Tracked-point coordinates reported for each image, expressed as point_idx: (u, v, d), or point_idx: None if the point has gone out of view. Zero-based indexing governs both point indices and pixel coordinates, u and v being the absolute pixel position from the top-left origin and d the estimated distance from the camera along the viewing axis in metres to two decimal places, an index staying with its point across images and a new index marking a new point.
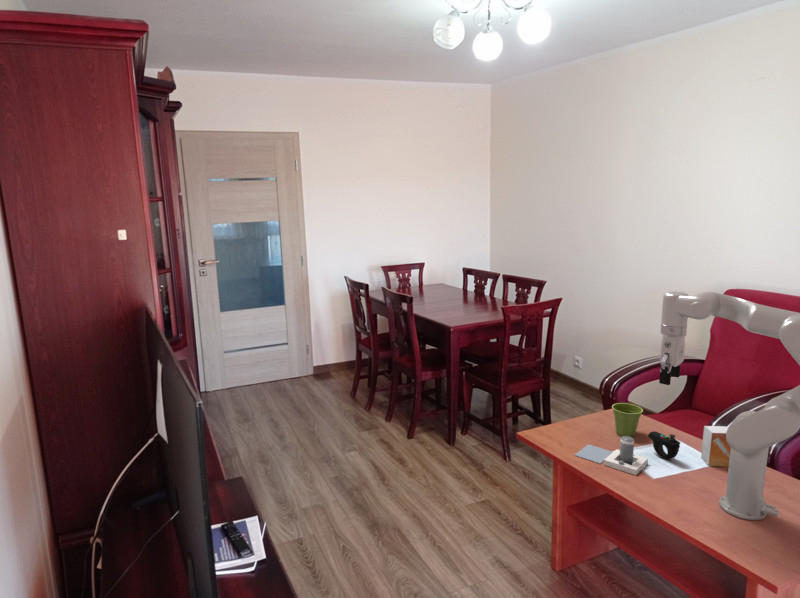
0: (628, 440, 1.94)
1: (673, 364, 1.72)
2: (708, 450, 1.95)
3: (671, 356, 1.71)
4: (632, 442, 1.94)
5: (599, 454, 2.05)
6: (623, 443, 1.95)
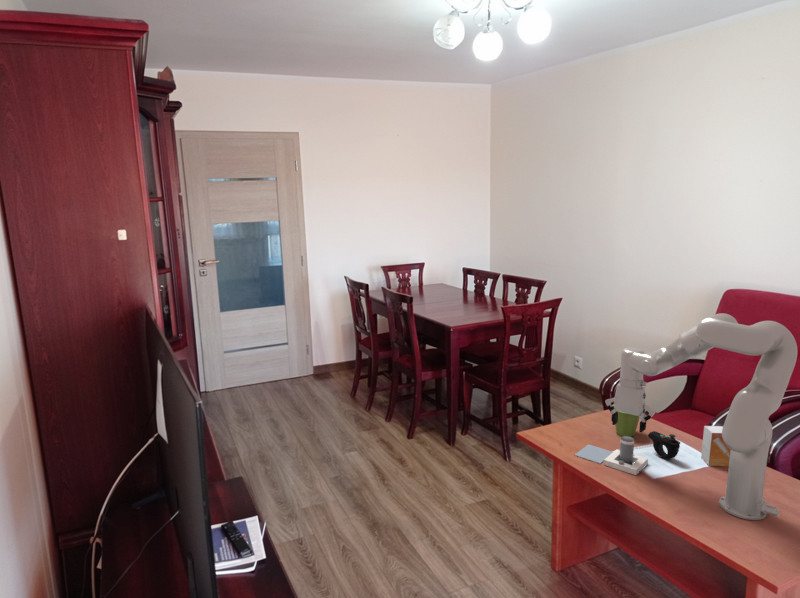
0: (628, 440, 1.94)
1: (645, 410, 1.92)
2: (708, 450, 1.95)
3: (645, 404, 1.91)
4: (632, 442, 1.94)
5: (599, 454, 2.05)
6: (623, 443, 1.95)
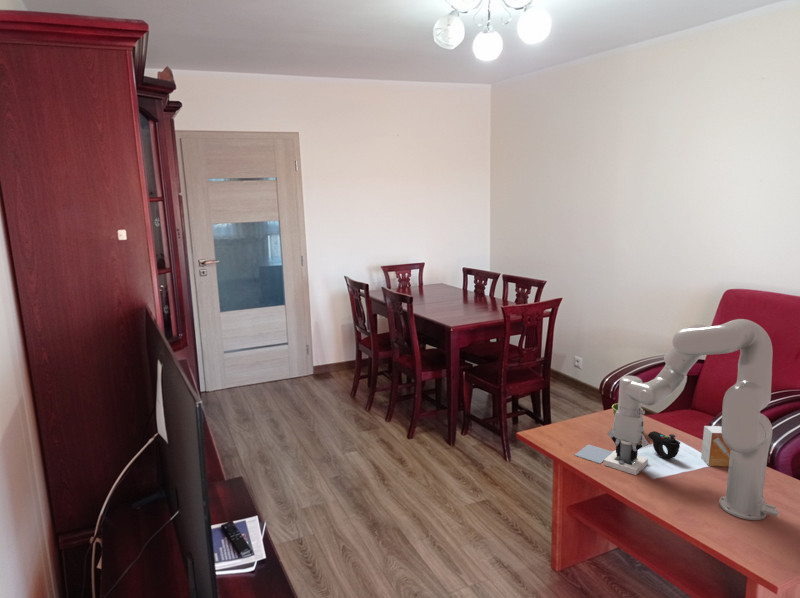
0: None
1: None
2: (708, 450, 1.95)
3: (643, 432, 1.93)
4: None
5: (599, 454, 2.05)
6: (623, 443, 1.95)
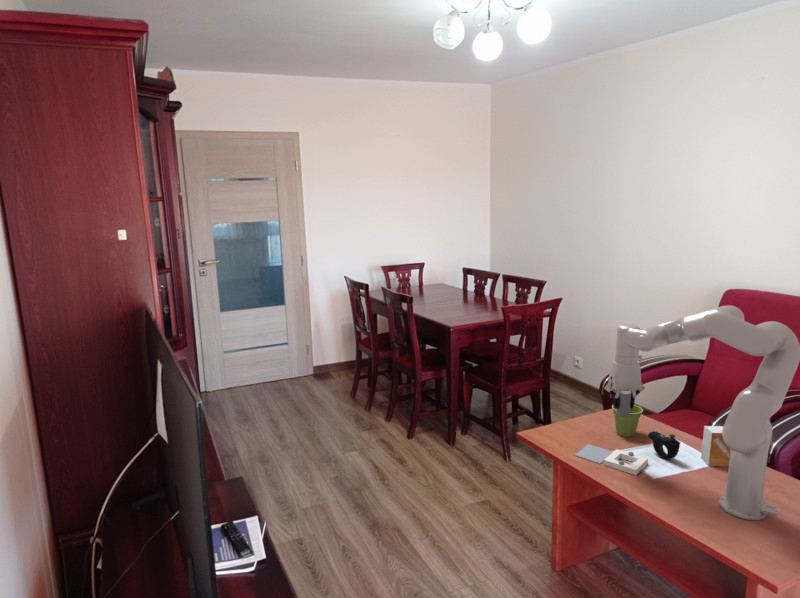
0: None
1: None
2: (708, 450, 1.95)
3: None
4: (631, 390, 1.93)
5: (599, 454, 2.05)
6: (625, 393, 1.92)
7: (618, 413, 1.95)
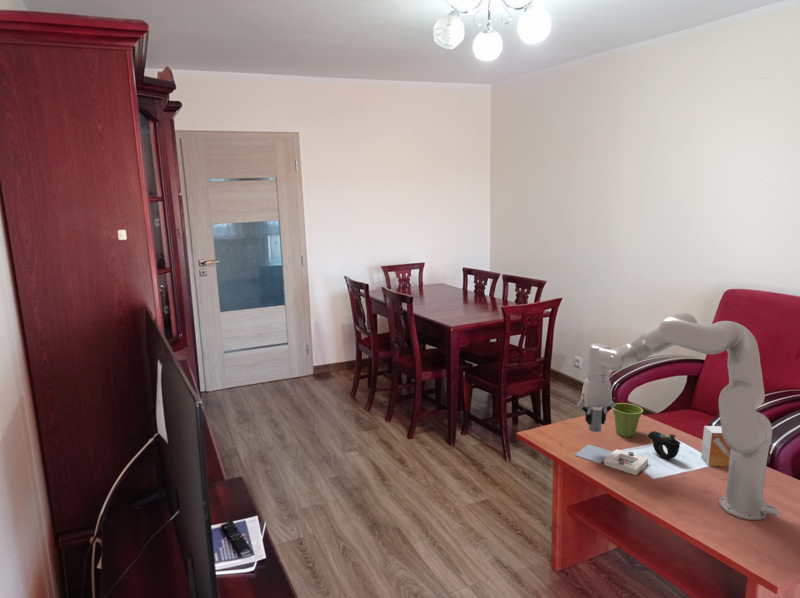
0: None
1: None
2: (708, 450, 1.95)
3: None
4: None
5: (599, 454, 2.05)
6: (597, 409, 2.00)
7: (590, 428, 2.03)
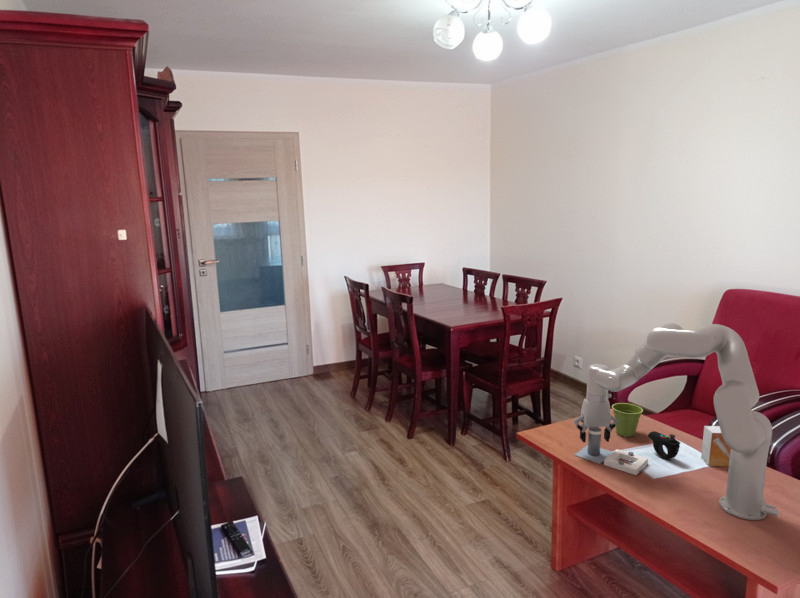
0: (598, 430, 2.03)
1: None
2: (708, 450, 1.95)
3: None
4: None
5: None
6: (595, 434, 2.02)
7: (589, 452, 2.05)
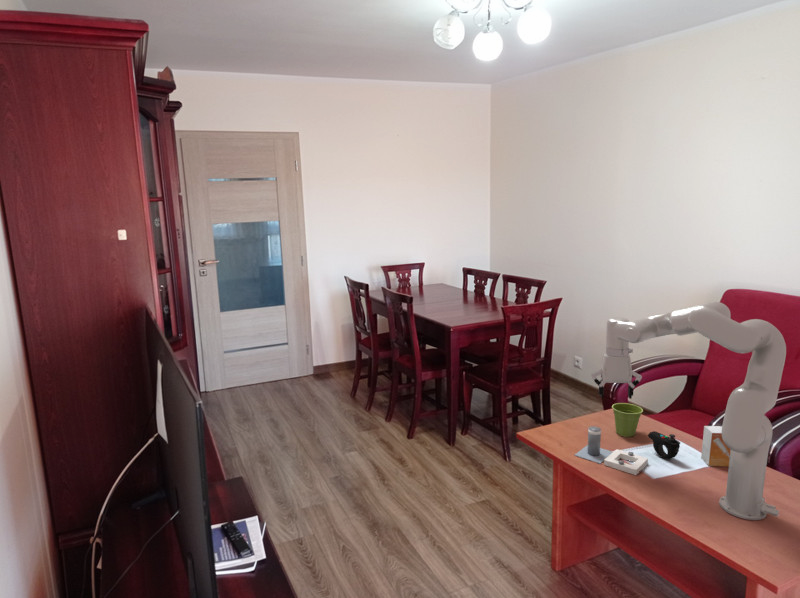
0: (598, 430, 2.03)
1: None
2: (708, 450, 1.95)
3: None
4: (600, 430, 2.03)
5: None
6: (595, 434, 2.02)
7: (589, 452, 2.05)
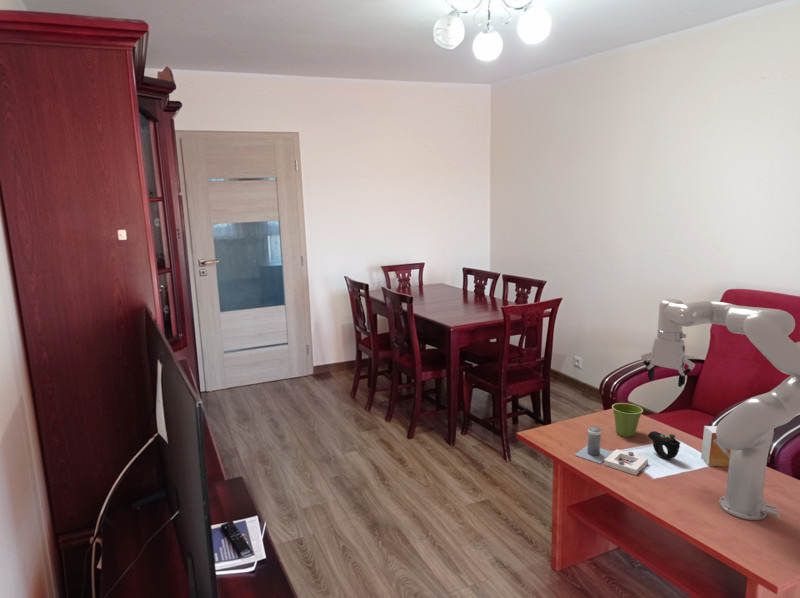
0: (597, 430, 2.02)
1: (684, 364, 1.85)
2: (708, 450, 1.95)
3: (684, 358, 1.84)
4: (600, 430, 2.03)
5: None
6: (595, 434, 2.02)
7: (589, 452, 2.04)
